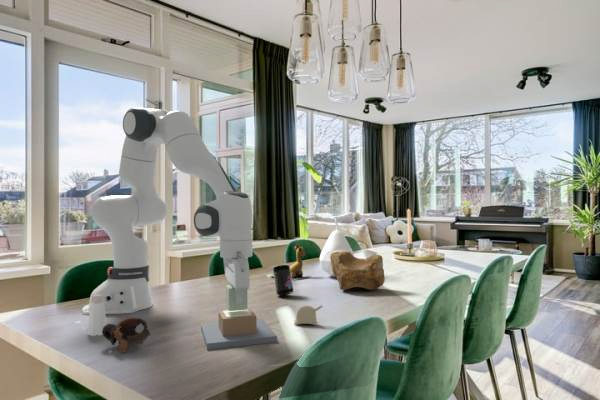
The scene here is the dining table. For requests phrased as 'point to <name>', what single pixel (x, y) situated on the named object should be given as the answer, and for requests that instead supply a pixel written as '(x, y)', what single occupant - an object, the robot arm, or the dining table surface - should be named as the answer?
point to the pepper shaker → (96, 316)
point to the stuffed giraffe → (297, 265)
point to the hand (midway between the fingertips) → (236, 300)
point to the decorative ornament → (306, 315)
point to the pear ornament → (334, 248)
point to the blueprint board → (236, 339)
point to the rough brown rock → (357, 271)
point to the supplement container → (283, 280)
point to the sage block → (230, 299)
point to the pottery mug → (126, 333)
